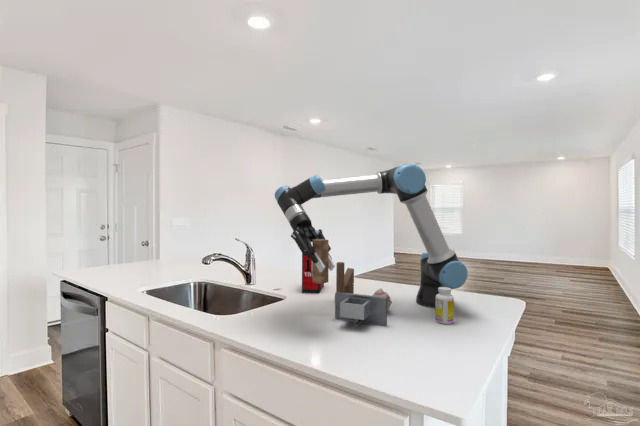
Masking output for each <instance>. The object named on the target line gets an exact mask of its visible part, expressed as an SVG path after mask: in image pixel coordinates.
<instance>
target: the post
mask: <svg viewBox="0 0 640 426" xmlns="http://www.w3.org/2000/svg"><path fill="white" fill-rule="evenodd" d="M325 239H326V238H325ZM325 239H315V240H312V242H311V245H312V247H313V250H314V253H316V252H317V254H318V256H319V258H320V259H321V261H322V262H323V264H324V266H325V268H324V270H323V271H322V272H320V271H319V270H318V268H317V266H316V265H315V264H314V263H313V261H312V282H314V283H318V284H322V283H324V284H326V283H329V268H328V253H329V252H328V244H329V239H326V240H325Z"/></svg>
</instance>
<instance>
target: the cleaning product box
mask: <svg viewBox="0 0 640 426" xmlns="http://www.w3.org/2000/svg"><path fill="white" fill-rule="evenodd" d="M307 257H308V256H307V255H306V256H304V255H303V253H302V252H301V294H314V295H315V294H318V295H319V294H321V292H322V290H323V288H324V287H325V283H322V284H318V283H314V282H312V260H311V258H307Z"/></svg>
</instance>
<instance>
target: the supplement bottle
mask: <svg viewBox="0 0 640 426" xmlns="http://www.w3.org/2000/svg"><path fill="white" fill-rule="evenodd" d="M438 291H439V294H437V295H436V298H435V307H434V310H435V314H434V315H435V317H434V318H435V319H434V320H435V322H436V323H439V324H443V325H450V324H453V323H454V320H455V311H454V310H455V297H454V296H453V294H451V293H452V289H451V288H448V287H439V288H438Z"/></svg>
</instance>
